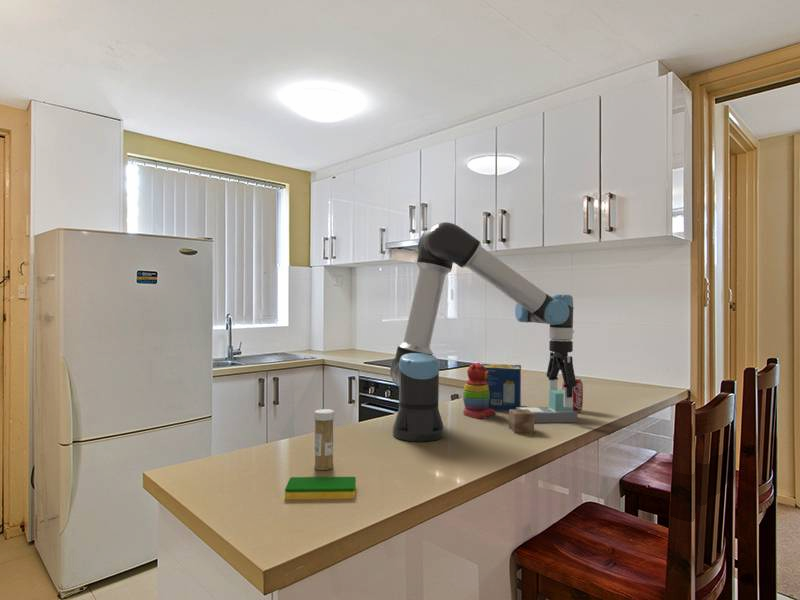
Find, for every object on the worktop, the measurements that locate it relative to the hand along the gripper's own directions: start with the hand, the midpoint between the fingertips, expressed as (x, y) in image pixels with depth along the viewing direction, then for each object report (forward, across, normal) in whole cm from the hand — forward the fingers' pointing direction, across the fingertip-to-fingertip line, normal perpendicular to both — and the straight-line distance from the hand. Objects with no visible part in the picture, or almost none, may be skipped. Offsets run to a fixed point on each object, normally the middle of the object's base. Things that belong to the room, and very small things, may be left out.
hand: (560, 402), depth 169 cm
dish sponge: (+6, -62, +74) cm, 97 cm away
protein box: (+6, +19, +16) cm, 25 cm away
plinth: (+5, 0, +5) cm, 7 cm away
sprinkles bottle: (+6, -47, +75) cm, 89 cm away
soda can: (+6, +12, -9) cm, 16 cm away
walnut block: (+6, -15, +18) cm, 24 cm away
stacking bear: (+6, +7, +27) cm, 28 cm away
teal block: (+2, 0, 0) cm, 2 cm away
